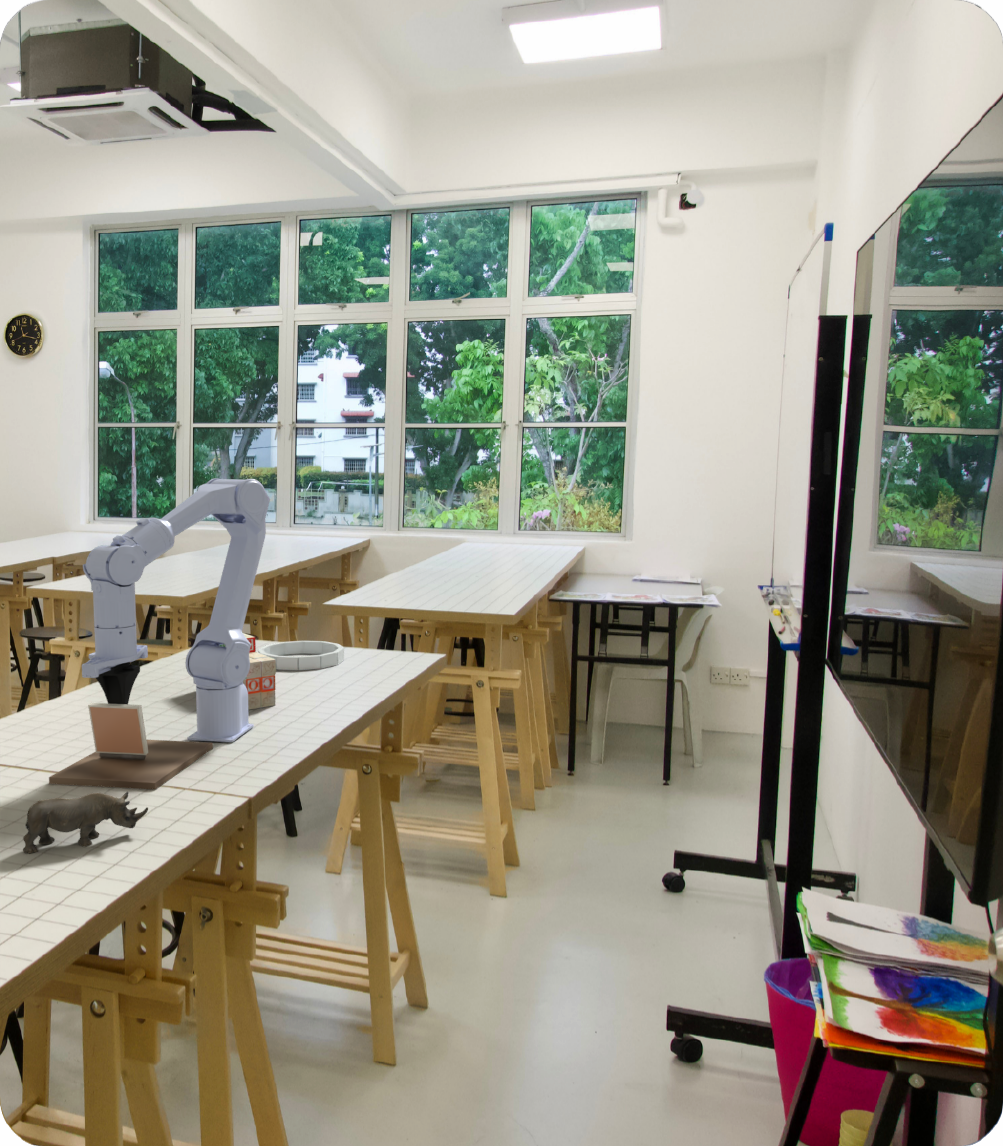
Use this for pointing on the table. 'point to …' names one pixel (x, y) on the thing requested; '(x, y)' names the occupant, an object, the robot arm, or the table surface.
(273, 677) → the stack of blocks
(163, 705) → the table surface
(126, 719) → the tile
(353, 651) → the table surface
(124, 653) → the robot arm
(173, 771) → the board
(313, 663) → the shell dish rim
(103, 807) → the rhino figurine
